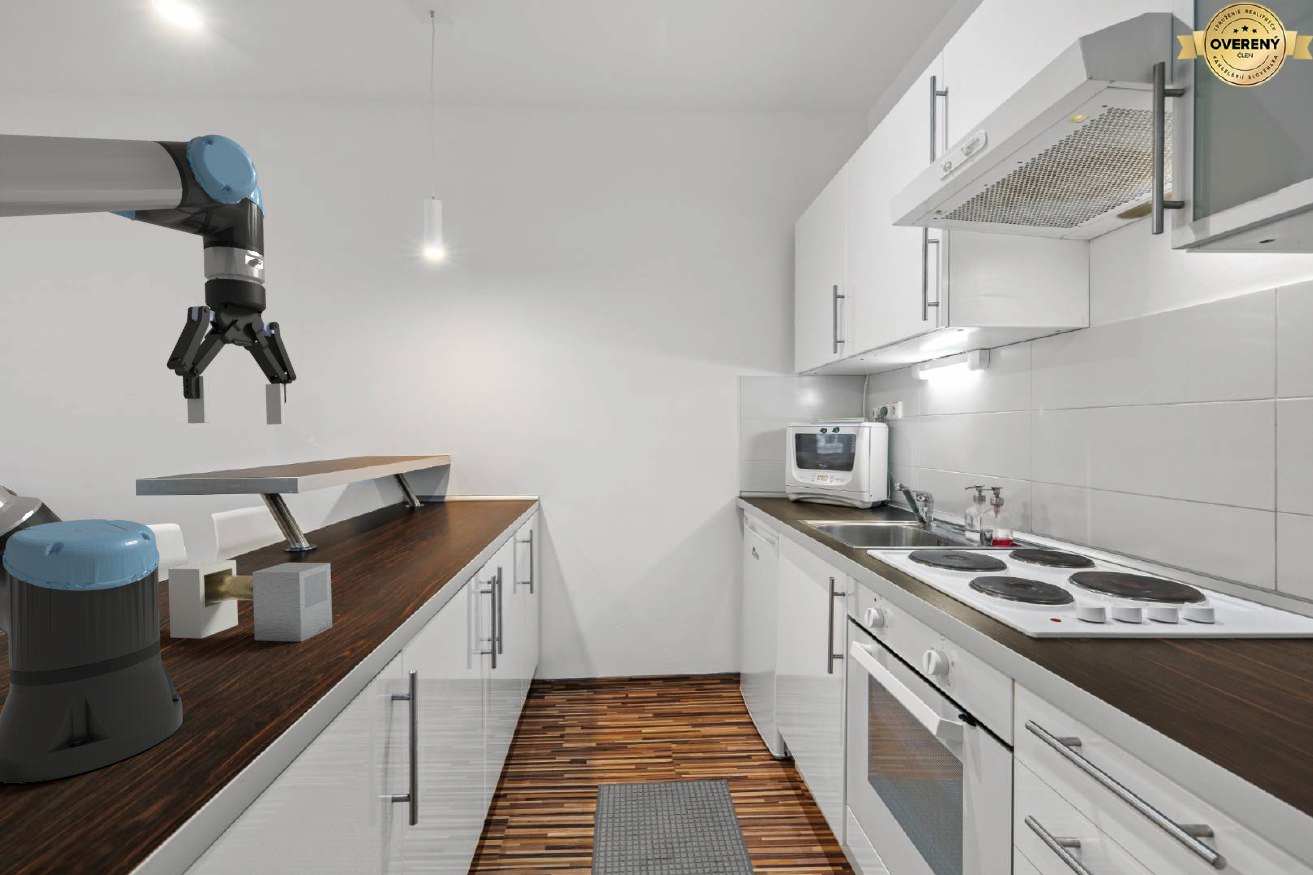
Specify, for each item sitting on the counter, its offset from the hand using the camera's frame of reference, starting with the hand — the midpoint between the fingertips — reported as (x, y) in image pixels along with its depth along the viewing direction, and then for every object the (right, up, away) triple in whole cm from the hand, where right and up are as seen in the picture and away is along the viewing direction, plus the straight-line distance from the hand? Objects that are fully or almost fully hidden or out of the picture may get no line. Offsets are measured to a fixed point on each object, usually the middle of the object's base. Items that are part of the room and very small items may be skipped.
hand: (240, 424), depth 90 cm
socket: (-14, -35, +12) cm, 40 cm away
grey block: (+3, -35, +9) cm, 36 cm away
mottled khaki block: (-7, -29, +11) cm, 32 cm away
